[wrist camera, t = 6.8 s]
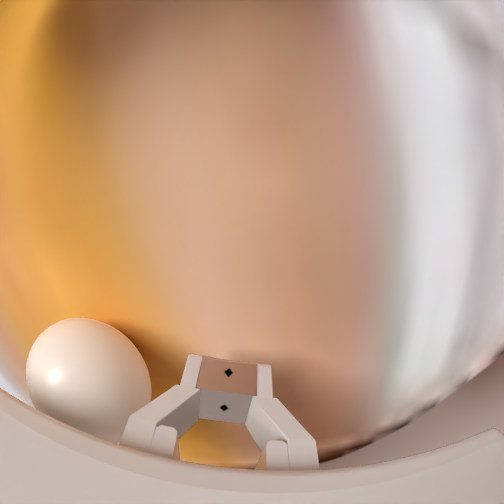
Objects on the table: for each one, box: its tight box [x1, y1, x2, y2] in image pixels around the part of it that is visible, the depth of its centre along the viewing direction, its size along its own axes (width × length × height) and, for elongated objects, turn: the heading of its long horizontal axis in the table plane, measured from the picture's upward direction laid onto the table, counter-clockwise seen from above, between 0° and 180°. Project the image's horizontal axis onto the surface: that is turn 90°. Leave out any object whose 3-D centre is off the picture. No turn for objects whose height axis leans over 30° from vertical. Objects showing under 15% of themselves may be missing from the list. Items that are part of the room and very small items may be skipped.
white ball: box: [26, 317, 152, 444], centre depth 9 cm, size 6×6×6 cm
